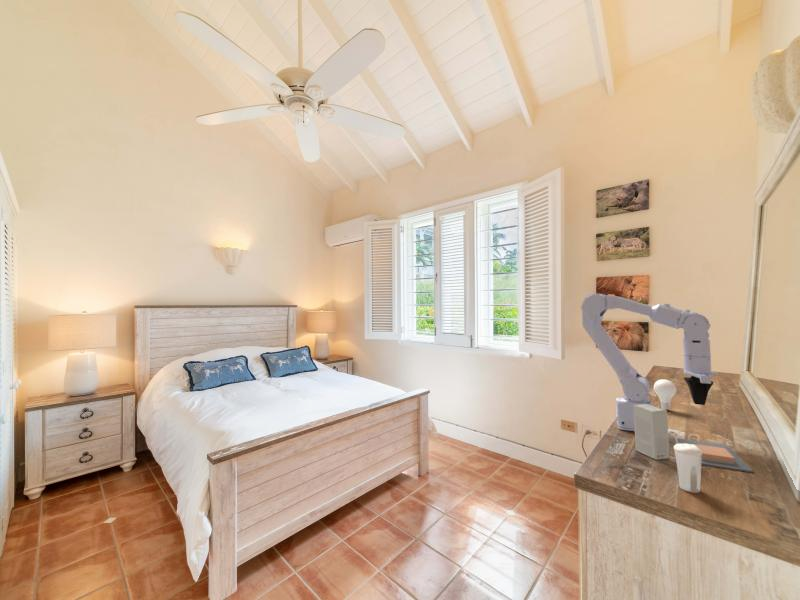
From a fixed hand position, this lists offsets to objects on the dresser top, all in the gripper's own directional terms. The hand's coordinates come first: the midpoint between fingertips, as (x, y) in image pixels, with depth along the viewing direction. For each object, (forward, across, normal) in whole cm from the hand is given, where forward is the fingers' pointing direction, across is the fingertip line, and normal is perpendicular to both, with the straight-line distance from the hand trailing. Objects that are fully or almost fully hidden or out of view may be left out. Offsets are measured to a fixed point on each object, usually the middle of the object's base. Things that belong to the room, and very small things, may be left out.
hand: (699, 404), depth 94 cm
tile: (+9, -11, +1) cm, 14 cm away
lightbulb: (+10, +28, +3) cm, 30 cm away
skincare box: (+10, -17, +14) cm, 24 cm away
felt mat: (+10, -11, +1) cm, 15 cm away
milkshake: (+10, -33, +10) cm, 36 cm away
